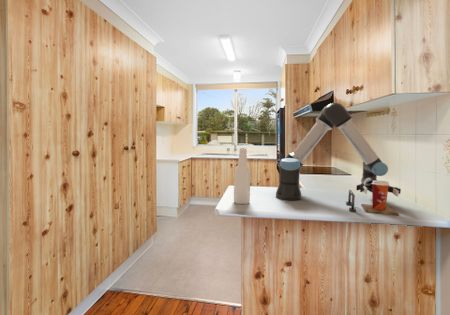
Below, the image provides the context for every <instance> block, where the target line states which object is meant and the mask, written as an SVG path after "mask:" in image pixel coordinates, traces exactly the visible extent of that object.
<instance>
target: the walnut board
mask: <svg viewBox="0 0 450 315" xmlns="http://www.w3.org/2000/svg"><path fill="white" fill-rule="evenodd" d="M360 207H362V209H363V211H364V212H365V213H369V214H370V213H371V214H379V215H389V216H399V214H400V213H399V212H397V210H395V209H394V208H393V207H392V206H389V205H388V206H387V205H386V207H385V210H377V209H373V208H372V204H366V203H361V205H360Z"/></svg>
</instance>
